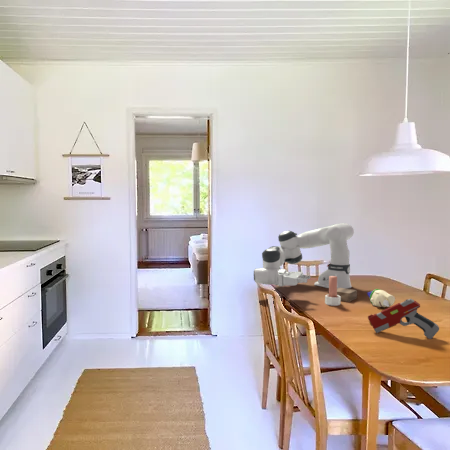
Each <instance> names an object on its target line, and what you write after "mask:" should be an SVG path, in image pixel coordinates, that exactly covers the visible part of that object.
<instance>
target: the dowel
mask: <svg viewBox="0 0 450 450" xmlns="http://www.w3.org/2000/svg"><path fill="white" fill-rule="evenodd" d="M328 294H329V297H337V277H336V276H329V288H328Z"/></svg>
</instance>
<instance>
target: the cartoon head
mask: <svg viewBox="0 0 450 450" xmlns="http://www.w3.org/2000/svg"><path fill="white" fill-rule="evenodd" d="M366 294H367V297H368V298H369V301H370V303H371V305H372V306H374V307H375V306H376V307H379V308H385V307H387V308H389V307H392V306H394V305H395V302H396V298H395V296H394V295H393V294H390V293H388V292H387V291H386V290H383V289H379V288H374V289H373V290H371V291H368V292H366Z"/></svg>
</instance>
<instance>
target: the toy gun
mask: <svg viewBox="0 0 450 450" xmlns="http://www.w3.org/2000/svg"><path fill="white" fill-rule="evenodd" d="M419 308H421V304H420V303H419V302H418V301H416V300H414V299H412V298H408V299H405V300H404V301H402V302H398V303H396V304H393V305H392V306H389V307H387V308H385V309H383V310H381V311H380V312H377V313H374V314H372V313H371V314H370V315H368V316H367V319H368V323H369V325H370V326H371V327H372V328H373V330H374V332H375V333H376V334H378V333H380V332H383V331H385V330H388V329H390V328H393V327H395V326H397V325H401V326H403V327H407V326H409V325H415V326H416V327H418V328H419V329H420V330H422V332H423V335H424V337H426V338H427V339H429V340H432V339H433V338H434V336H435V335H436V334H437V333H438V332H439V330H440V326H439V325H438V324H437V323H435V322H434V321H432V320H431V319H429V318H427V317H426V316H424V315H422V314H420V313H418V309H419ZM403 318H405V320H406V321H403Z"/></svg>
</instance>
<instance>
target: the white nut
mask: <svg viewBox="0 0 450 450" xmlns="http://www.w3.org/2000/svg"><path fill="white" fill-rule="evenodd" d="M341 302H342V301H341V296H339V295H337V297H329V293H328V294H326V295H324V304H325V305H327V306H334V307H335V306H340V305H341Z"/></svg>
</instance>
